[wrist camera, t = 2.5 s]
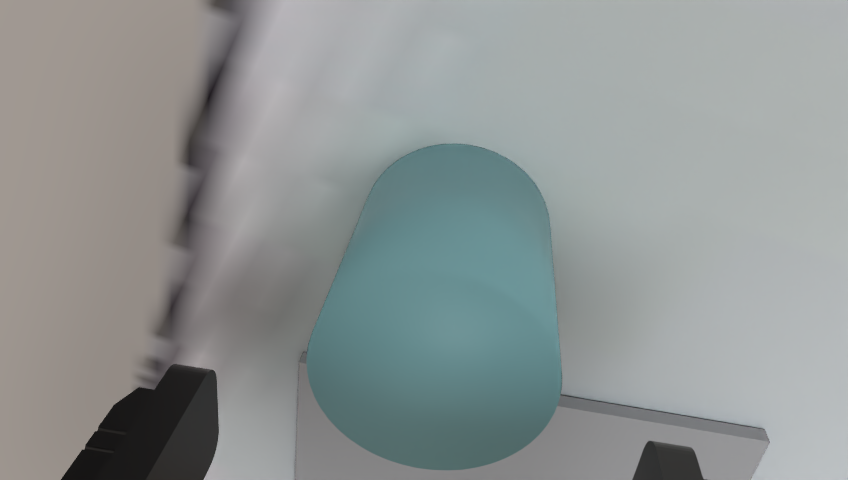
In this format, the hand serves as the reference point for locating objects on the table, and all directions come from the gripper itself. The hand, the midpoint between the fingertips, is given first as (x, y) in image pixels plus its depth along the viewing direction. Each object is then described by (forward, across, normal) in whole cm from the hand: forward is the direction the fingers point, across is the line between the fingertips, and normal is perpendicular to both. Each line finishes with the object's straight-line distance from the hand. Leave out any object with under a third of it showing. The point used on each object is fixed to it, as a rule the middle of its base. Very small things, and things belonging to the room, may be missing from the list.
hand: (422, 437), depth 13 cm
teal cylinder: (+7, 0, -1) cm, 7 cm away
